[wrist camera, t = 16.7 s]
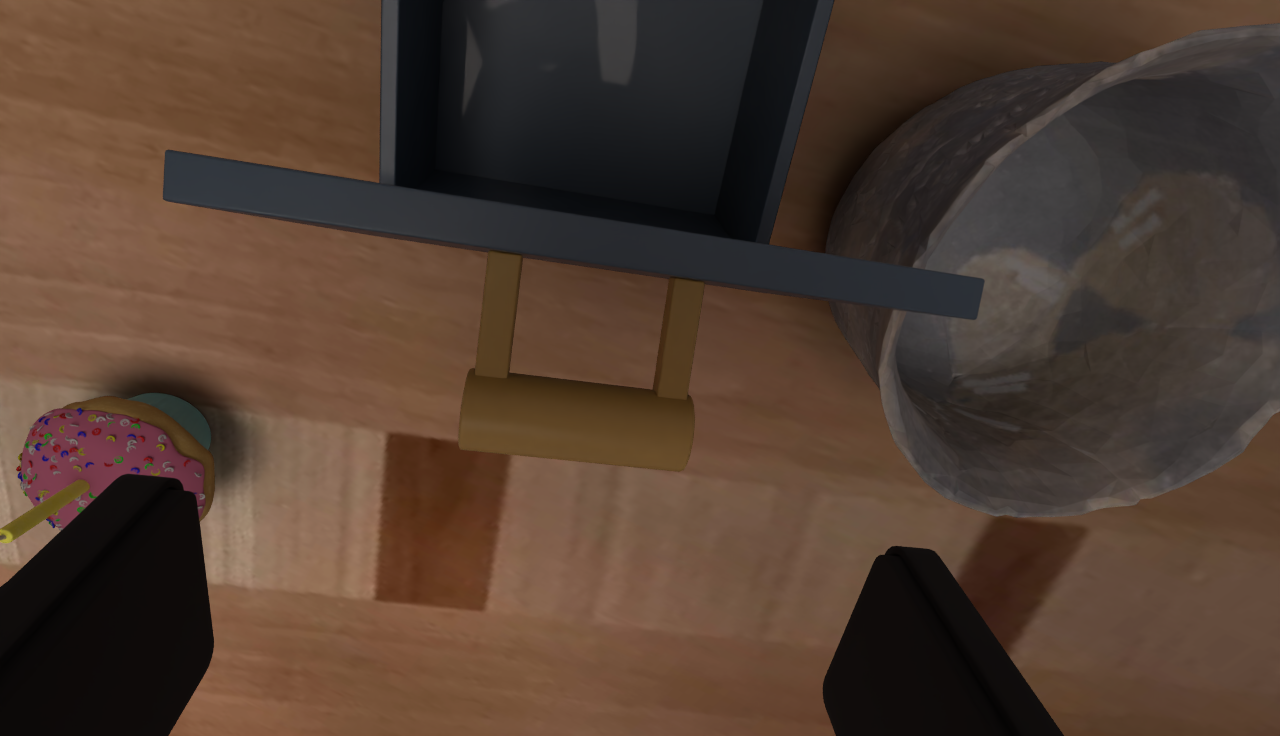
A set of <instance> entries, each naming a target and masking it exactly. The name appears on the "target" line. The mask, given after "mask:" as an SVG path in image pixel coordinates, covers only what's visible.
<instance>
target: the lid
mask: <svg viewBox="0 0 1280 736" xmlns="http://www.w3.org/2000/svg"><path fill="white" fill-rule="evenodd" d="M163 199H164V200H165V201H168V202H174V203H180V204H186V205H192V206H198V207H204V208H210V209H216V210H222V211H228V212H234V213H240V214H246V215H252V216H259V217H265V218H271V219H277V220H283V221H289V222H295V223H301V224H307V225H313V226H319V227H325V228H331V229H337V230H343V231H349V232H355V233H361V234H367V235H373V236H379V237H386V238H393V239H400V240H407V241H414V242H420V243H427V244H434V245H441V246H448V247H455V248H461V249H468V250H475V251H482V252H488V259H487V268H486V277H485V286H484V295H483V303H482V312H481V321H480V330H479V339H478V348H477V357H476V366H475V368H472V369H470V370H469V372H468V375H467V378H466V382H465V387H464V392H463V398H462V405H461V412H460V421H459V435H458V443H459V448H460V449H462V450H470V451H480V452H490V453H500V454H510V455H520V456H529V457H539V458H549V459H559V460H569V461H579V462H589V463H599V464H608V465H618V466H628V467H638V468H648V469H658V470H668V471H677V472H680V471H682V470H684V468H685V467H686V465H687V462H688V460H689V457H690V453H691V449H692V443H693V436H694V423H695V415H694V405H693V400H692V398H691V396H690V395H688V389H689V382H690V376H691V369H692V363H693V357H694V350H695V344H696V337H697V331H698V325H699V318H700V312H701V305H702V299H703V293H704V286H705V284H707V285H714V286H721V287H728V288H735V289H741V290H748V291H755V292H762V293H770V294H777V295H785V296H793V297H800V298H808V299H816V300H823V301H831V302H839V303H846V304H854V305H862V306H869V307H877V308H885V309H892V310H900V311H908V312H915V313H923V314H931V315H938V316H946V317H954V318H961V319H969V320H976V319H977V316H978V311H979V306H980V302H981V297H982V292H983V287H984V283H985V280H984V279H983V278H977V277H970V276H964V275H958V274H951V273H945V272H939V271H932V270H926V269H920V268H913V267H907V266H901V265H894V264H888V263H882V262H875V261H869V260H863V259H857V258H850V257H844V256H838V255H831V254H825V253H819V252H812V251H806V250H800V249H793V248H787V247H781V246H774V245H768V244H762V243H755V242H749V241H743V240H736V239H730V238H724V237H717V236H711V235H705V234H698V233H692V232H686V231H680V230H673V229H667V228H661V227H654V226H648V225H642V224H635V223H629V222H623V221H616V220H610V219H604V218H597V217H591V216H585V215H578V214H572V213H566V212H559V211H553V210H547V209H540V208H534V207H528V206H521V205H515V204H509V203H502V202H496V201H490V200H484V199H477V198H471V197H465V196H458V195H452V194H446V193H439V192H433V191H427V190H420V189H414V188H408V187H401V186H395V185H389V184H382V183H376V182H370V181H363V180H357V179H351V178H344V177H338V176H332V175H325V174H319V173H313V172H307V171H300V170H294V169H288V168H281V167H275V166H269V165H262V164H256V163H250V162H243V161H237V160H231V159H224V158H218V157H212V156H205V155H199V154H193V153H186V152H180V151H174V150H166V152H165V165H164V186H163ZM523 258H530V259H537V260H543V261H550V262H557V263H564V264H571V265H578V266H584V267H591V268H598V269H605V270H612V271H619V272H625V273H632V274H639V275H646V276H653V277H659V278H666V279H669V283H668V290H667V297H666V304H665V310H664V317H663V324H662V330H661V337H660V344H659V351H658V357H657V364H656V371H655V377H654V384H653V390H650V389H642V388H633V387H625V386H617V385H608V384H600V383H592V382H583V381H575V380H567V379H558V378H550V377H542V376H533V375H525V374H516V373H509V370H510V361H511V353H512V345H513V336H514V328H515V320H516V311H517V303H518V294H519V286H520V278H521V269H522V261H523Z"/></svg>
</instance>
